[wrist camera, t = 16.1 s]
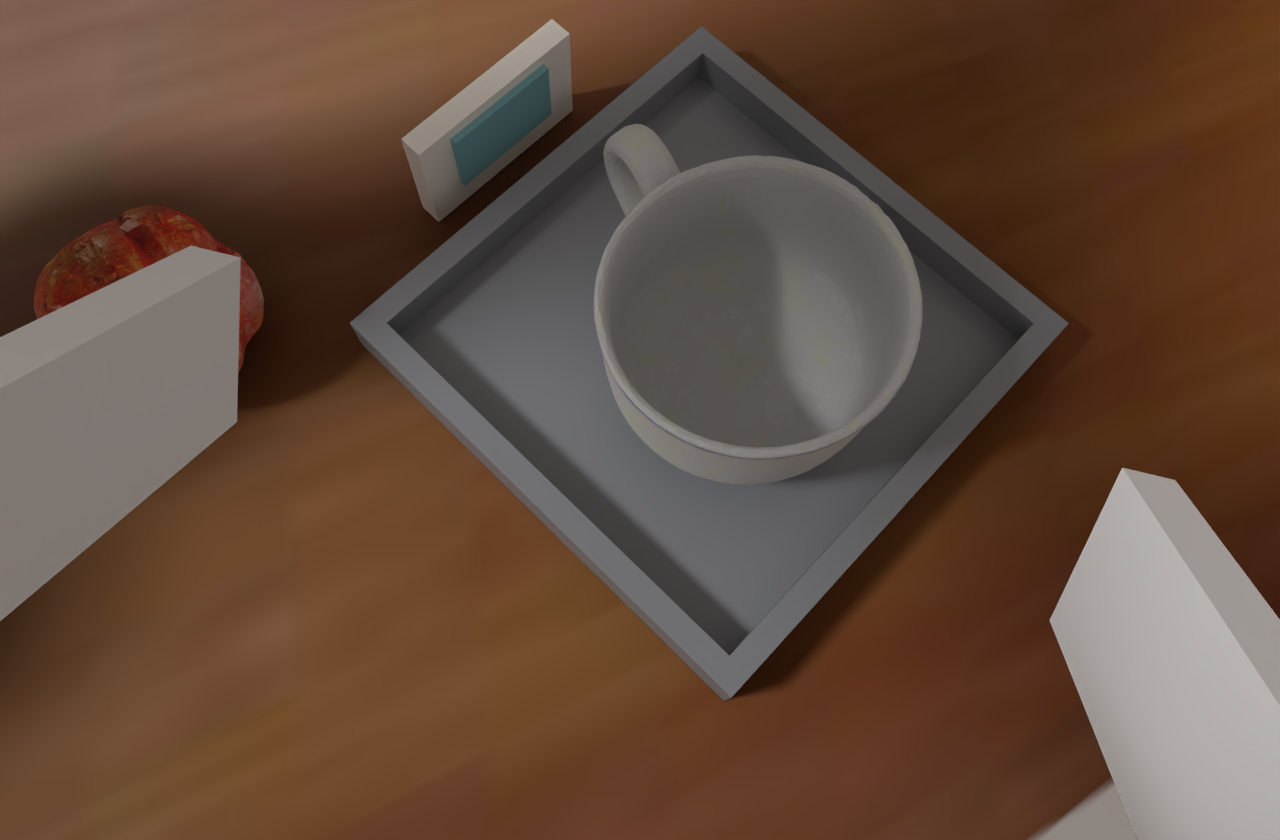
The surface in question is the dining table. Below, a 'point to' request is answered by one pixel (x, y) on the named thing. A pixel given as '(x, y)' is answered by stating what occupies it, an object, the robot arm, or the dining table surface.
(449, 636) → the dining table surface
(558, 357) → the tray
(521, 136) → the tag
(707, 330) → the teacup
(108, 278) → the pomegranate
